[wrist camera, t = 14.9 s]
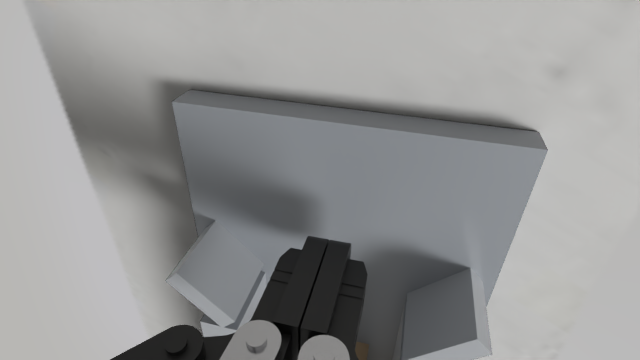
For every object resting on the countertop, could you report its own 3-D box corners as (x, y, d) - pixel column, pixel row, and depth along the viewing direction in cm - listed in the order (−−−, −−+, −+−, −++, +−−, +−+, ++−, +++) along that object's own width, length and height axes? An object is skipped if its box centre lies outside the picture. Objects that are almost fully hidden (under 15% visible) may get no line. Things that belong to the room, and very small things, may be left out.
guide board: (189, 89, 15) (113, 141, 11) (539, 131, 12) (578, 212, 9) (239, 393, 26) (210, 464, 23) (424, 444, 24) (422, 531, 20)
